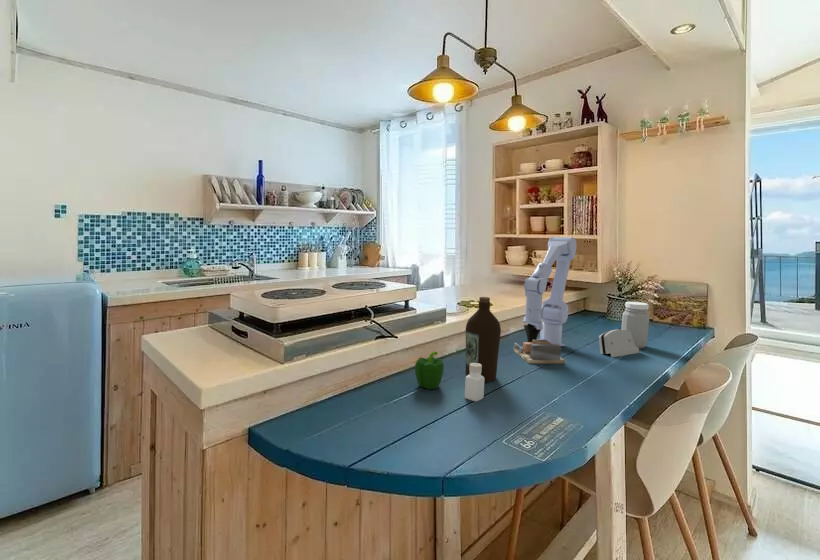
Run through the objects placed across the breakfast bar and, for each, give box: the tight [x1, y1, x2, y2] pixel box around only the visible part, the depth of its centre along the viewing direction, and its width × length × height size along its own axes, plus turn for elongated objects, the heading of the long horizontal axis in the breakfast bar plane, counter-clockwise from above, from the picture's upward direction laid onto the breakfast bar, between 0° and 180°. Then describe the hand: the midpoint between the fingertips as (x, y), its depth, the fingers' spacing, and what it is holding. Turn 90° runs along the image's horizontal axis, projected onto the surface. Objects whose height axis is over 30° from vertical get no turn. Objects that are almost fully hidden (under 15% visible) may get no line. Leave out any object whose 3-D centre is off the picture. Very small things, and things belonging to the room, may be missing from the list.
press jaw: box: [522, 341, 532, 353], centre depth 156 cm, size 2×10×3 cm, turn 95°
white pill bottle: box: [464, 363, 485, 402], centre depth 113 cm, size 4×4×10 cm
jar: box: [620, 301, 650, 350], centre depth 174 cm, size 10×10×18 cm
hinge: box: [598, 329, 640, 358], centre depth 164 cm, size 17×5×10 cm, turn 118°
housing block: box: [532, 339, 551, 344], centre depth 152 cm, size 5×5×5 cm
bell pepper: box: [414, 351, 444, 390], centre depth 121 cm, size 8×8×10 cm
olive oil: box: [465, 296, 502, 383], centre depth 130 cm, size 11×11×25 cm
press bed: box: [512, 342, 566, 364], centre depth 155 cm, size 16×13×6 cm
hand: (531, 343), depth 162 cm, fingers closed
